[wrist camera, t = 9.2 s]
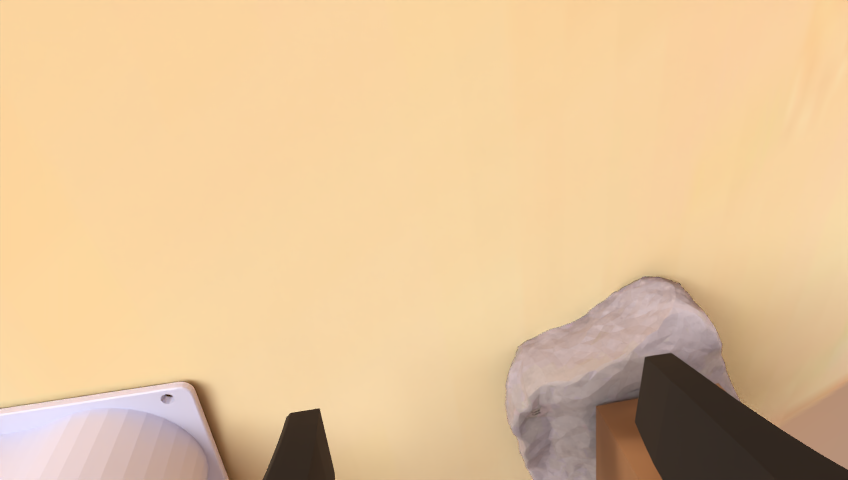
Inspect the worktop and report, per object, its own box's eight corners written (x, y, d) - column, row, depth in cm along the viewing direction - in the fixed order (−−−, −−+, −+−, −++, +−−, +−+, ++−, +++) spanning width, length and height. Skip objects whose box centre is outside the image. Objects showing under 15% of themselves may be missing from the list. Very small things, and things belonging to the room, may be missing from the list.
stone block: (560, 466, 33) (742, 415, 30) (573, 551, 29) (786, 502, 26) (464, 326, 27) (675, 246, 24) (464, 407, 23) (717, 323, 20)
